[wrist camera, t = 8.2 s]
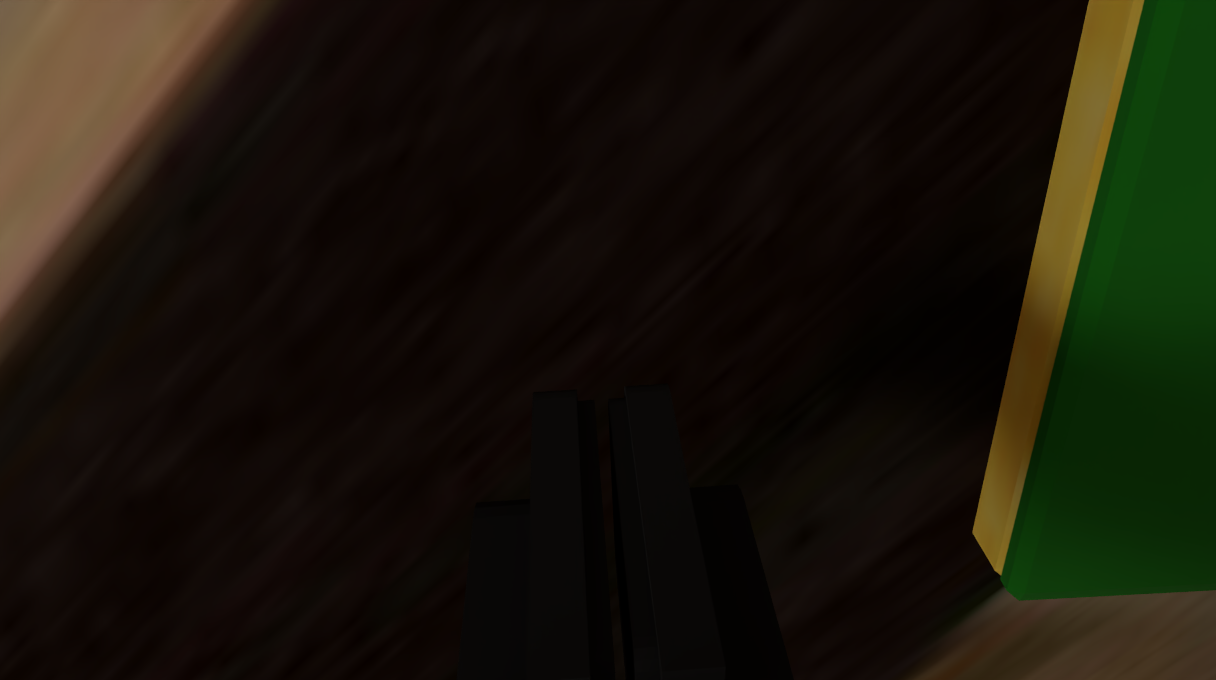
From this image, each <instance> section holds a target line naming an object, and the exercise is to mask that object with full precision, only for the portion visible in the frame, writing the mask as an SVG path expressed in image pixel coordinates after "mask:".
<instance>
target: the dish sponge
mask: <svg viewBox="0 0 1216 680" xmlns="http://www.w3.org/2000/svg"><path fill="white" fill-rule="evenodd" d="M973 534H974V536H975V538H976V540H977V541H978V543H979V545H980V546H981V548H982V550H983V551H984V553H985V555H986V556H987V558H988V560H989V561H990V563H991V565H992V566H993V568H994V570H995V571H996V572H997V573H999V574H1000V575H1001V578H1000V580H1001V581H1002V583H1003V585H1004V587H1005V588H1006V590H1007V591H1008V592H1009V593H1011V594H1012V595H1013V596H1014V597H1015V598H1017V599H1018V600H1019V601H1020V600H1038V599H1057V598H1076V597H1095V596H1114V595H1132V594H1151V593H1170V592H1189V591H1208V590H1216V0H1089V4H1088V8H1087V13H1086V17H1085V22H1084V26H1083V31H1082V36H1081V40H1080V45H1079V49H1078V54H1077V58H1076V63H1075V67H1074V72H1073V77H1072V81H1071V86H1070V90H1069V95H1068V99H1067V104H1066V108H1065V113H1064V118H1063V122H1062V127H1061V131H1060V136H1059V140H1058V145H1057V150H1056V154H1055V159H1054V163H1053V168H1052V172H1051V177H1050V181H1049V186H1048V191H1047V195H1046V200H1045V204H1044V209H1043V213H1042V218H1041V222H1040V227H1039V232H1038V236H1037V241H1036V245H1035V250H1034V254H1033V259H1032V264H1031V268H1030V273H1029V277H1028V282H1027V286H1026V291H1025V295H1024V300H1023V305H1022V309H1021V314H1020V318H1019V323H1018V327H1017V332H1016V336H1015V341H1014V346H1013V350H1012V355H1011V359H1010V364H1009V368H1008V373H1007V378H1006V382H1005V387H1004V391H1003V396H1002V400H1001V405H1000V409H999V414H998V419H997V423H996V428H995V432H994V437H993V441H992V446H991V450H990V455H989V460H988V464H987V469H986V473H985V478H984V482H983V487H982V492H981V496H980V501H979V505H978V510H977V514H976V519H975V523H974V528H973Z"/></svg>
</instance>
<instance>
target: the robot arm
mask: <svg viewBox="0 0 1216 680" xmlns="http://www.w3.org/2000/svg"><path fill="white" fill-rule="evenodd" d="M608 410H609V432H610V454H611V476H612V497H613V519H614V541H615V559H616V573H617V585H618V596H619V608H620V619H621V631H622V642H623V653H624V665H625V676H626V680H794V679H793V675H792V672H791V668H790V664H789V661H788V657H787V653H786V650H785V646H784V643H783V639H782V635H781V632H780V628H779V624H778V621H777V617H776V614H775V610H774V606H773V603H772V599H771V595H770V592H769V588H768V585H767V581H766V577H765V574H764V570H763V567H762V563H761V559H760V556H759V552H758V548H757V545H756V541H755V538H754V534H753V530H752V527H751V523H750V519H749V516H748V512H747V509H746V505H745V501H744V498H743V495H742V492H741V489H740V488H739V486H738V485H726V486H711V487H697V488H689V483H688V478H687V473H686V468H685V463H684V459H683V454H682V449H681V444H680V439H679V434H678V429H677V424H676V419H675V414H674V409H673V404H672V399H671V394H670V390H669V386H668V384H654V385H639V386H625V387H624V398H618V399H608ZM457 680H615V666H614V652H613V638H612V625H611V612H610V599H609V586H608V573H607V559H606V546H605V533H604V520H603V507H602V494H601V481H600V467H599V454H598V441H597V428H596V415H595V402H594V400H587V401H577V390H562V391H547V392H534V393H533V407H532V448H531V488H530V499H523V500H509V501H494V502H480V503H477V504H476V506H475V510H474V516H473V525H472V535H471V545H470V555H469V564H468V574H467V584H466V594H465V604H464V613H463V623H462V633H461V643H460V652H459V662H458V672H457Z"/></svg>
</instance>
